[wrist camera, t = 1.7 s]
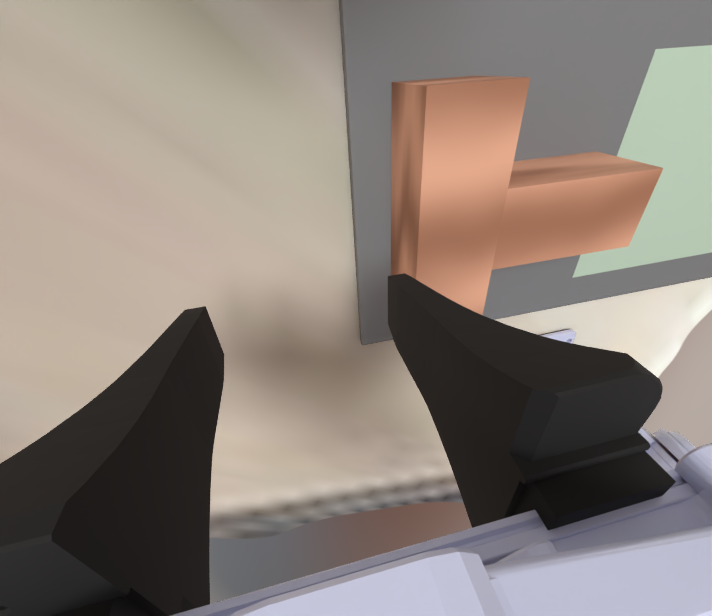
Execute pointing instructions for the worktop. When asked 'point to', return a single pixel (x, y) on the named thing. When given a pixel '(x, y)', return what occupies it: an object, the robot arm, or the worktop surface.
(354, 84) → the mat
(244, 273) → the worktop surface
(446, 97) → the t block
